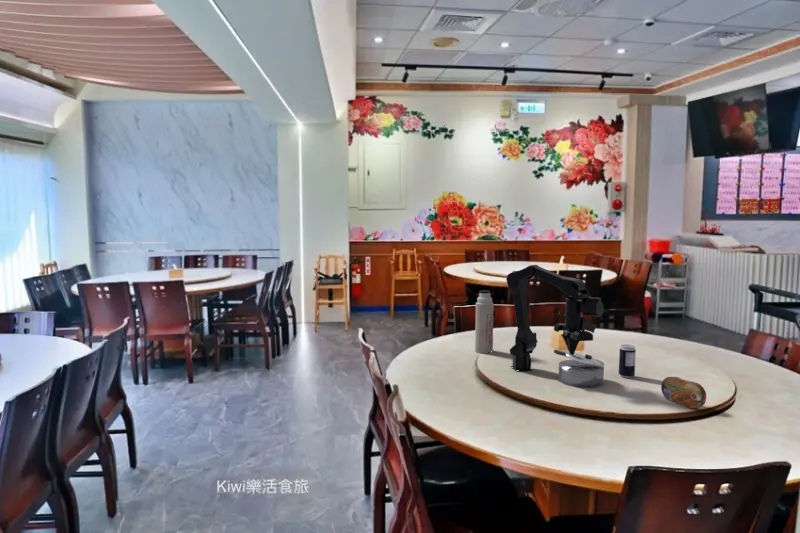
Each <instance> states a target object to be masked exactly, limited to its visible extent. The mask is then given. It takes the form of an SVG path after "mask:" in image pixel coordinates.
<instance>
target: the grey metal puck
mask: <svg viewBox="0 0 800 533" xmlns="http://www.w3.org/2000/svg"><path fill="white" fill-rule="evenodd" d="M604 372H605V367H598V366H593V365H589V364H585V363H582V362H579V361H576V360H573V359H567V360H566V359H565V360H561V361H559V362H558V379H559V380H558V382H559V383H561V382H562V384H564V385H567V386H569V387H575V388H582V389H583V388H585V389H592V388H599V387H602V386H603V385H604V376H605V375H604Z"/></svg>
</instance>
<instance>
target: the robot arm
mask: <svg viewBox="0 0 800 533" xmlns="http://www.w3.org/2000/svg"><path fill="white" fill-rule="evenodd" d="M533 278H536V279H539V280H541V281H543V282H545V283H546V282H547V283H549V285H550V284H551V285H553V286H555V287H557V288H558V289H559V290H560V291H561V292H563V293H564V295H563V296H562V297H560V301H565V314H563V315H562V318H563V319H565V320H564V323H562V322H561V323H555V324H554V325H553V331H555V333H556V332H557V333H558V332H560V331H562V334H561V335H560V336H561V337H562V339H563V341H564V343H565V345H566V348H567V351H569V353H570V354H571V355H574V353H576V350H577V347H578V345H579V343H580V342H589V341H590V342H591V341H594V333H595V331H596V327H597V325H596V324H595V323H591V322H589V320H588V319H587V318H585V316H590V317H596V318H601V317H602V316H603V313H604V309H605V306H604V302H602V298H601V297H592V295H591V294H590V292H589V291H588V289H587V288H586V284H585V282H584V280H582V279H580V278H575V277H569V276H563V275H561V274H558V273H556V272H554V271H551V270H549V269H546V268H544V267H541V266H539V265H537V264H530V265H528V266H527V267H524V268H522V269H520V270H517V271H512V272H509V273H508V275H507V276H506V284H507V287H508V289H509V291H510V293H511V294H512V297H513V305H514V312H515V318H516V319H515V320H516V326H517V328H516V329H517V332H516V335H515V338H514V339H515V341H514V342H515V343H514V345H513V346H512V347H511V348H510V349H509V353H510V355H511V356H512V365H511V366H510V368H511V367H513V368H514V369H515V370H514V369H513V368H512V369H513V370H514V371H516V370H531V371H533V368H532V357H531V354H533V351H534V350H535V349H536V348H537V343H538V342H539V341H538V340H537V338H538V337H537V332H533V331H532V329H531V326H530V319H529V318H530V317H529V311H528V304H527V298H526V297H527V295H526V292H527V289H528V286H529V284H528V282H529V280H531V279H533ZM582 315H584V316H582Z"/></svg>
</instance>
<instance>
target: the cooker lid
mask: <svg viewBox="0 0 800 533" xmlns="http://www.w3.org/2000/svg"><path fill="white" fill-rule="evenodd" d="M553 353H554V354H556V355H559V356H562V357H565V358H567V359H569V360H576V361H579V362H582V363H585V364H589V365H593V366H598V367H604V366H605V362H603V361H601V360H599V359H598V358H597V359H596V358H594V357H593V356H592V355H591V354H587V353H586V354H582V353H578V352H575V353H574V355H571V354H570V353H569V350H565V349H561V350H559V349H555V348H554V350H553ZM604 368H605V367H604Z"/></svg>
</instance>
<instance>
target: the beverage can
mask: <svg viewBox="0 0 800 533" xmlns="http://www.w3.org/2000/svg"><path fill="white" fill-rule="evenodd" d="M636 354H637V353H636V348H635V346H634V345H633V344H621V345H620V347H619V356H618V357H619V359H618V360H619V361H618V375H620V377H622V378H625V379H632V378H633V377H634V376H635V374H636V372H635V371H636Z"/></svg>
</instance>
